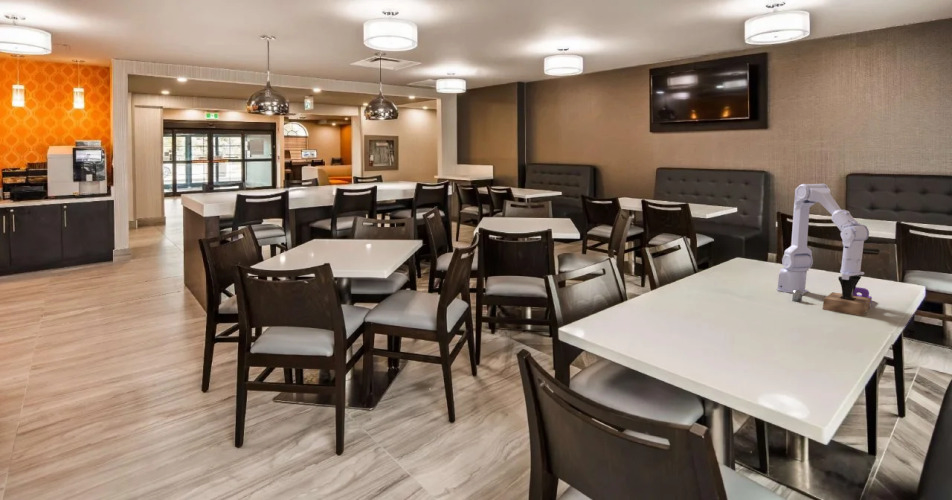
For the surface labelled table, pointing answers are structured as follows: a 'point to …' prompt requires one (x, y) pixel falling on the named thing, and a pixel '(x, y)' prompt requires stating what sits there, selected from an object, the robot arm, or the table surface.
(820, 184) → the robot arm
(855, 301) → the hole block
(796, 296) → the short pin
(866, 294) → the bracket
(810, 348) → the table surface
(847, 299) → the tall pin
